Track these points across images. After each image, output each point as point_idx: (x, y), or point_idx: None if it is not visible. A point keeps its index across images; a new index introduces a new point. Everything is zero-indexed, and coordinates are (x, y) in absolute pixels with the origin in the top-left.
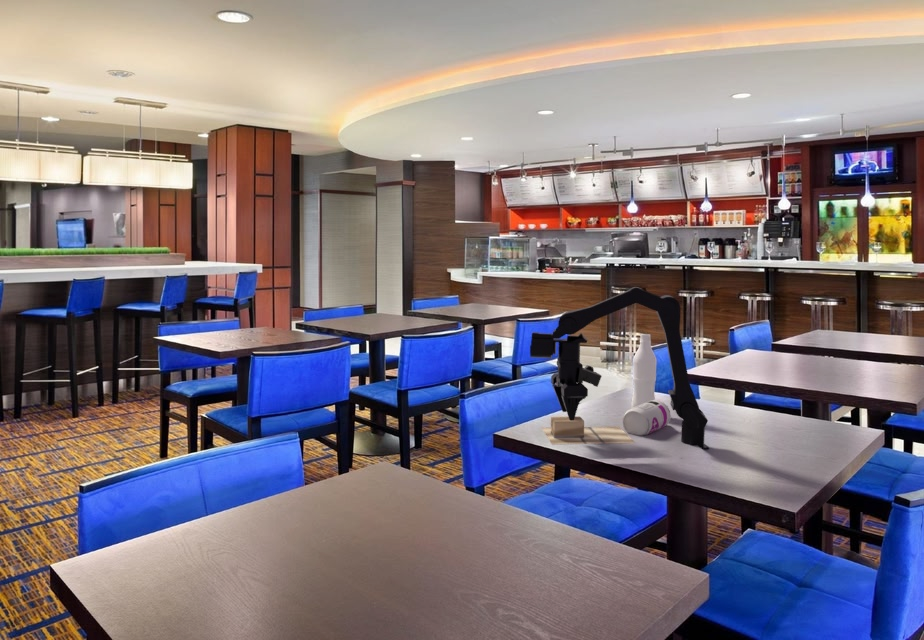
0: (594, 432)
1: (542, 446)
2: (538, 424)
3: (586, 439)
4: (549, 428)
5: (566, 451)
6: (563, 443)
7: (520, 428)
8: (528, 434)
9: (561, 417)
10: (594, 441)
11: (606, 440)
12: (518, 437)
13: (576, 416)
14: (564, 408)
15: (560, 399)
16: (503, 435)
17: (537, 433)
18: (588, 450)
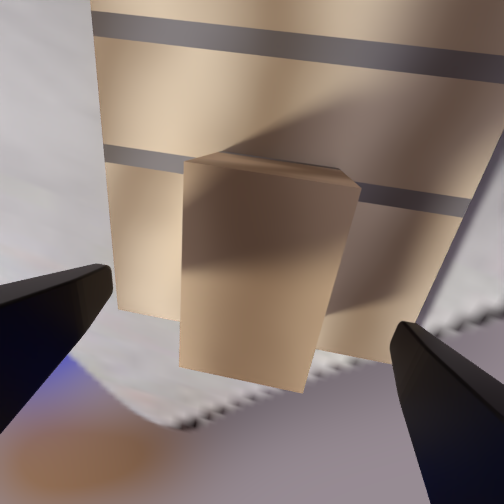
0: (235, 36)
1: (341, 366)
2: (10, 267)
3: (385, 168)
4: (131, 281)
5: (455, 310)
6: (408, 317)
7: (81, 349)
8: (164, 352)
9: (204, 317)
10: (450, 130)
11: (470, 16)
12: (202, 393)
13: (183, 195)
14: (93, 297)
15: (13, 394)
16: (172, 421)
17: (151, 319)
18: (499, 201)
